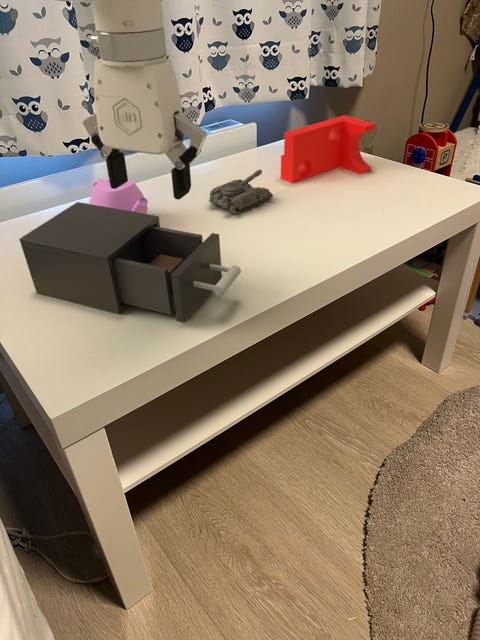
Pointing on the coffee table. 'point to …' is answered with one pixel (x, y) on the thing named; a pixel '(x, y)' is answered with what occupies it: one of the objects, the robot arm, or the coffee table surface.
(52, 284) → the small drawer cabinet
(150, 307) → the pulled-out drawer
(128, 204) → the teapot
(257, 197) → the tank toy
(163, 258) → the block
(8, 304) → the coffee table surface
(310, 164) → the bracket
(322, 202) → the coffee table surface
